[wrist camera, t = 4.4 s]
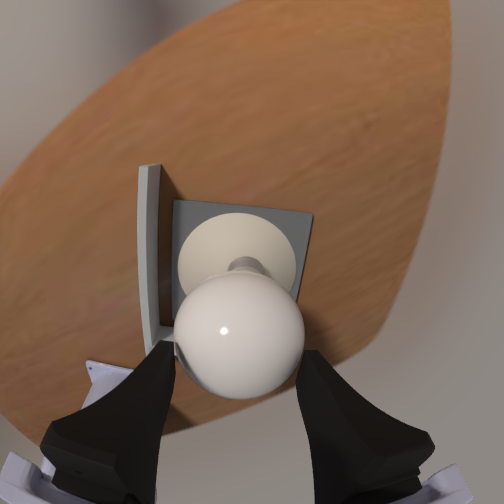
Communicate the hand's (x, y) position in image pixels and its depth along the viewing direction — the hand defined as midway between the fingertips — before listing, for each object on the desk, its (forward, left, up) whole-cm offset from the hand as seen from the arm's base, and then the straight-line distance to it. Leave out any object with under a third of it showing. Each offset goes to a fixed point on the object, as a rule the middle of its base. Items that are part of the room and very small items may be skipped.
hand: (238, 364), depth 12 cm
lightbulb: (+1, -1, -10) cm, 10 cm away
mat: (0, 0, -10) cm, 10 cm away
